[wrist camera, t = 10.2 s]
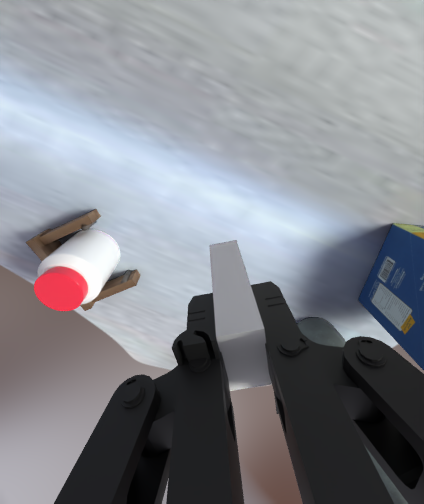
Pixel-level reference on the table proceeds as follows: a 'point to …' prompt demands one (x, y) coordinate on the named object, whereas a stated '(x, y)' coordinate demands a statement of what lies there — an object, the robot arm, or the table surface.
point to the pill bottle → (77, 270)
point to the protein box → (399, 288)
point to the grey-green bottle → (329, 336)
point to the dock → (49, 243)
